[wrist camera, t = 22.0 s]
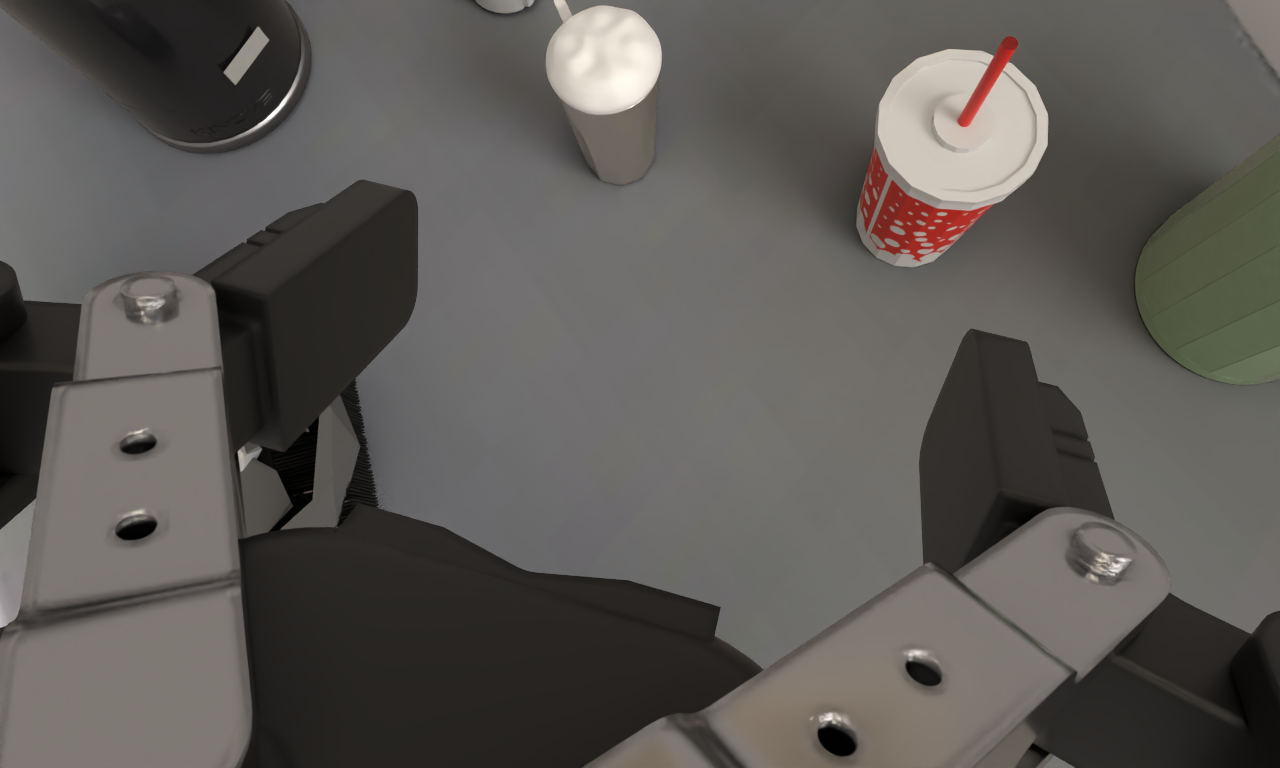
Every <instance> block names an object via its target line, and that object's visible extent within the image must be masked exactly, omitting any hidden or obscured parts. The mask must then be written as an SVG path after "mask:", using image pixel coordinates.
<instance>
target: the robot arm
mask: <svg viewBox="0 0 1280 768" xmlns="http://www.w3.org/2000/svg"><path fill="white" fill-rule="evenodd" d="M0 7H1V8H2V9H3V10H4V11H6V12H7V13H8V14H9V15H10V16H12V17H13V18H14V19H15V20H17V21H18V22H19V23H20V24H22V25H23V26H24V27H25V28H27V29H28V30H29V31H30V32H31V33H33V34H34V35H35V36H36V37H38V38H39V39H40V40H41V41H43V42H44V43H45V44H46V45H47V46H49V47H50V48H51V49H52V50H54V51H55V52H56V53H57V54H59V55H60V56H61V57H62V58H63V59H65V60H66V61H67V62H68V63H70V64H71V65H72V66H73V67H75V68H76V69H77V70H78V71H79V72H81V73H82V74H83V75H84V76H86V77H87V78H88V79H89V80H91V81H92V82H93V83H94V84H95V85H97V86H98V87H99V88H100V89H102V90H103V91H104V92H105V93H106V94H107V95H109V96H110V97H111V98H112V99H114V100H115V101H116V102H117V103H119V104H120V105H121V106H122V107H124V108H125V109H126V110H127V111H128V112H130V113H131V114H132V115H133V116H134V117H135V118H136V119H137V121H138V122H139V123H140V124H141V125H143V126H144V127H145V128H146V129H147V130H148V131H150V132H151V133H152V134H153V135H155V136H156V137H157V138H159V139H160V140H162V141H163V142H165V143H167V144H168V145H170V146H173V147H175V148H178V149H181V150H184V151H189V152H194V153H221V152H227V151H232V150H235V149H239V148H241V147H244V146H247V145H249V144H251V143H253V142H255V141H257V140H259V139H261V138H262V137H264V136H266V135H267V134H268V133H270V132H271V131H273V130H274V129H275V128H276V127H277V126H279V125H280V124H281V123H282V122H283V121H284V120H285V119H286V118H287V116H288V115H289V114H290V113H291V112H292V110H293V109H294V107H295V106H296V104H297V103H298V101H299V99H300V97H301V96H302V93H303V91H304V89H305V86H306V83H307V80H308V77H309V72H310V65H311V50H310V43H309V38H308V35H307V32H306V30H305V28H304V25H303V23H302V22H301V20H300V18H299V17H298V15H297V14H296V13H295V11H294V10H293V8H292V7H291V6H290V4H289V3H288V2H287V1H286V0H0ZM417 288H418V206H417V200H416V197H415V195H414V194H413V193H412V192H411V191H408V190H404V189H400V188H396V187H392V186H387V185H383V184H379V183H375V182H371V181H367V180H359V181H357V182H355V183H354V184H352V185H351V186H349V187H348V188H346V189H345V190H343V191H342V192H341V193H339V194H338V195H336V196H335V197H333V198H332V199H330V200H329V201H327V202H326V203H319V204H315V205H312V206H309V207H305V208H302V209H299V210H295V211H292V212H288V213H287V214H285V215H284V216H282V217H281V218H279V219H278V220H276V221H275V222H273V223H271V224H270V225H268V226H267V227H266V229H265V231H262V230H261V231H259V232H258V233H256V234H255V235H253V236H252V237H250V238H248V239H247V243H243V242H242V243H241V244H239V245H238V246H236V247H235V248H233V249H232V250H230V251H229V252H227V253H225V254H224V255H222V256H221V257H219V258H218V259H216V260H215V261H213V262H212V263H210V264H209V265H207V266H206V267H204V268H202V269H201V270H199V271H198V272H196V273H195V274H193V275H189V274H184V273H179V272H170V271H148V272H139V273H133V274H127V275H123V276H119V277H116V278H113V279H110V280H108V281H106V282H104V283H101V284H99V285H98V286H96V287H95V288H93V289H92V290H91V291H90V292H89V293H87V295H86V296H85V298H84V299H83V302H82V304H68V303H53V302H37V301H23V297H22V294H21V290H20V287H19V283H18V280H17V276H16V273H15V271H14V269H13V268H12V267H11V266H9V265H8V264H6V263H4V262H2V261H0V529H1V528H2V527H4V526H5V525H6V524H7V523H8V522H9V521H11V520H12V519H13V518H14V517H15V516H16V515H17V514H19V513H20V512H21V511H22V510H23V509H24V508H25V507H27V506H28V505H29V504H30V503H31V502H32V501H33V500H35V499H36V502H35V509H34V516H33V523H32V530H31V537H30V544H29V551H28V557H27V564H26V571H25V578H24V585H23V592H22V599H21V605H20V610H19V613H18V616H17V618H16V619H15V620H14V621H12V622H10V623H9V624H8V625H7V626H4V627H2V628H0V768H1043V767H1044V766H1045V765H1046V764H1047V763H1048V762H1049V761H1050V760H1051V759H1052V757H1053V756H1054V755H1055V756H1056V757H1058V758H1060V759H1061V760H1063V761H1065V762H1067V763H1068V764H1070V765H1072V766H1074V767H1075V768H1280V611H1277V612H1273V613H1271V614H1269V615H1267V616H1266V618H1265V619H1264V620H1263V621H1262V622H1261V623H1260V624H1259V626H1258V627H1257V628H1256V629H1255V631H1254V632H1253V633H1252V634H1250V633H1247V632H1245V631H1243V630H1241V629H1239V628H1237V627H1235V626H1233V625H1231V624H1229V623H1227V622H1225V621H1223V620H1220V619H1218V618H1216V617H1214V616H1212V615H1210V614H1208V613H1206V612H1204V611H1202V610H1200V609H1198V608H1196V607H1194V606H1192V605H1190V604H1188V603H1186V602H1184V601H1182V600H1180V599H1179V598H1177V597H1176V596H1174V595H1172V594H1171V593H1169V592H1170V589H1171V576H1170V573H1169V570H1168V568H1167V566H1166V564H1165V562H1164V560H1163V559H1162V558H1161V556H1160V555H1159V554H1158V552H1157V551H1156V550H1155V549H1154V548H1153V547H1152V546H1151V545H1150V544H1149V543H1148V542H1146V541H1145V540H1144V539H1143V538H1142V537H1141V536H1139V535H1138V534H1136V533H1135V532H1134V531H1132V530H1131V529H1129V528H1127V527H1126V526H1124V525H1122V524H1121V523H1119V522H1117V521H1115V519H1114V516H1113V513H1112V510H1111V507H1110V504H1109V500H1108V497H1107V494H1106V491H1105V488H1104V485H1103V481H1102V478H1101V475H1100V472H1099V469H1098V466H1097V463H1096V462H1094V458H1095V456H1094V453H1093V450H1092V447H1091V444H1090V442H1089V441H1087V439H1088V434H1087V431H1086V428H1085V425H1084V422H1083V418H1082V415H1081V412H1080V411H1079V410H1078V409H1077V408H1076V406H1075V405H1074V404H1073V403H1072V402H1071V401H1070V400H1069V399H1068V397H1067V396H1066V395H1065V394H1064V393H1063V392H1062V391H1061V390H1060V389H1059V387H1058V386H1054V385H1050V384H1046V383H1042V382H1038V378H1037V374H1036V371H1035V367H1034V363H1033V359H1032V355H1031V351H1030V347H1029V345H1028V343H1027V342H1025V341H1021V340H1017V339H1013V338H1008V337H1004V336H1000V335H996V334H992V333H988V332H984V331H980V330H975V329H970V330H969V331H968V332H967V333H966V335H965V336H964V338H963V340H962V342H961V344H960V346H959V349H958V351H957V353H956V356H955V358H954V361H953V363H952V365H951V368H950V370H949V373H948V375H947V377H946V380H945V382H944V385H943V387H942V389H941V392H940V394H939V397H938V399H937V401H936V404H935V406H934V409H933V411H932V413H931V416H930V418H929V421H928V423H927V426H926V429H925V433H924V436H923V440H922V445H921V450H920V459H919V471H920V495H921V519H922V543H923V565H922V566H921V567H919V568H917V569H916V570H914V571H913V572H911V573H910V574H908V575H907V576H905V577H904V578H902V579H901V580H899V581H898V582H896V583H895V584H893V585H892V586H890V587H889V588H887V589H886V590H884V591H883V592H881V593H880V594H878V595H877V596H875V597H874V598H872V599H871V600H869V601H868V602H866V603H865V604H863V605H862V606H860V607H859V608H857V609H855V610H854V611H852V612H851V613H849V614H848V615H846V616H845V617H843V618H842V619H840V620H839V621H837V622H836V623H834V624H833V625H831V626H830V627H828V628H827V629H825V630H824V631H822V632H821V633H819V634H818V635H816V636H815V637H813V638H812V639H810V640H809V641H807V642H806V643H804V644H803V645H801V646H800V647H798V648H797V649H795V650H794V651H792V652H790V653H789V654H787V655H786V656H784V657H783V658H781V659H780V660H778V661H777V662H775V663H774V664H772V665H771V666H769V667H768V668H766V669H765V670H763V669H762V668H761V667H760V666H759V665H757V664H756V663H755V662H754V661H753V660H751V659H750V658H749V657H747V656H746V655H744V654H743V653H741V652H740V651H738V650H737V649H736V648H734V647H733V646H731V645H730V644H728V643H726V642H724V641H723V640H721V639H719V638H717V637H715V636H714V635H715V630H716V626H717V621H718V617H719V612H720V607H718V606H715V605H712V604H708V603H705V602H701V601H698V600H694V599H691V598H687V597H684V596H680V595H677V594H673V593H670V592H666V591H663V590H659V589H656V588H652V587H649V586H646V585H642V584H639V583H635V582H632V581H628V580H616V579H604V578H593V577H581V576H569V575H557V574H546V573H535V572H529V571H526V570H523V569H520V568H518V567H516V566H514V565H512V564H511V563H509V562H507V561H505V560H503V559H501V558H500V557H498V556H496V555H494V554H492V553H490V552H488V551H487V550H485V549H483V548H481V547H479V546H477V545H475V544H474V543H472V542H470V541H468V540H466V539H464V538H462V537H461V536H459V535H457V534H455V533H453V532H451V531H450V530H448V529H446V528H444V527H441V526H437V525H434V524H430V523H427V522H423V521H420V520H416V519H413V518H409V517H406V516H402V515H399V514H395V513H392V512H388V511H385V510H381V509H378V508H375V507H371V506H368V505H364V504H361V503H358V504H357V505H356V506H355V508H354V509H353V510H352V511H351V513H350V514H349V515H348V517H347V518H346V519H345V520H344V522H343V523H342V524H341V525H340V527H339V528H337V527H303V528H293V529H283V530H278V531H272V532H267V533H261V534H257V535H254V536H250V537H248V535H247V526H246V517H245V507H244V498H243V489H242V480H241V471H240V464H239V457H238V451H239V450H240V449H241V448H242V447H243V446H244V445H245V444H246V443H247V442H249V443H252V444H256V445H259V446H263V447H267V448H270V449H274V450H277V451H281V452H285V451H286V450H287V449H288V448H289V447H290V446H291V445H292V444H293V443H294V442H295V441H296V440H297V438H298V437H299V436H300V435H301V434H302V433H303V432H304V431H305V430H306V429H307V428H308V427H309V426H310V425H311V424H312V423H313V422H314V421H315V420H316V419H317V418H318V417H319V416H320V414H321V413H322V412H323V411H324V410H325V409H326V408H327V407H328V406H329V405H330V404H331V403H332V402H333V401H334V400H335V399H336V398H337V397H338V396H339V395H340V394H341V393H342V392H343V391H344V389H345V388H346V387H347V386H348V385H349V384H350V383H351V382H352V381H353V380H354V379H355V378H356V377H357V376H358V375H359V374H360V373H361V372H362V371H363V370H364V369H365V368H366V367H367V365H368V364H369V363H370V362H371V361H372V360H373V359H374V358H375V357H376V356H377V355H378V354H379V353H380V352H381V351H382V350H383V349H384V348H385V347H386V346H387V345H388V344H389V343H390V342H391V340H392V339H393V338H394V337H395V336H396V335H397V334H398V333H399V332H400V331H401V330H402V329H403V328H404V327H405V325H406V324H407V322H408V321H409V319H410V317H411V314H412V312H413V309H414V306H415V302H416V297H417Z"/></svg>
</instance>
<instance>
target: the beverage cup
mask: <svg viewBox="0 0 1280 768" xmlns="http://www.w3.org/2000/svg"><path fill="white" fill-rule="evenodd" d="M1017 46H1018V41H1017V40H1016V39H1015V38H1014V37H1006V38H1005V39H1003V41H1002V43H1001V45H1000V46H999V48H998V50H997V52H996V53H995V55H994V56H992V55H990V54H988V53H985V52H983V51H974V50H956V49H947V50H944V51H941V52H937V53H934V54H931V55H927V56H924V57H921V58H918V59H916V60H915V61H914V62H913V63H911V64H910V65H909V66H908V67H906V68H905V69H904V70H903V71H901V72H900V73H899V74H898V75H896V76H895V77H894V78H893V80H892V81H891V83H890V85H889V87H888V89H887V91H886V93H885V95H884V96H883V98H882V100H881V102H880V104H879V106H878V112H877V114H876V123H875V141H874V149H873V152H872V156H871V159H870V163H869V167H868V170H867V174H866V178H865V181H864V185H863V188H862V192H861V196H860V199H859V203H858V206H857V219H856V227H857V230H858V232H859V235H860V238H861V240H862V243H863V244H864V245H865V246H866V247H867V248H868V249H869V251H870V252H871V253H872V254H873V255H874V256H875V257H876V258H878V259H881V260H883V261H885V262H887V263H889V264H891V265H893V266H903V267H917V266H920V265H923V264H927V263H930V262H933V261H934V260H935V259H937V258H938V257H939V256H940V255H941V254H943V253H944V252H945V251H946V250H947V249H948V248H949V247H951V246H952V245H953V244H954V243H955V242H956V241H957V240H958V239H959V238H960V237H961V236H962V235H963V234H964V233H965V232H966V231H967V230H968V229H969V228H970V227H971V226H972V225H973V224H974V223H975V222H976V221H977V220H978V219H979V218H980V217H981V216H982V215H983V214H984V213H985V212H986V211H987V210H988V209H989V208H990V207H991V206H992V205H993V204H994V203H998V202H1001V201H1002V200H1004V199H1005V198H1006V197H1007V196H1008V195H1010V194H1011V193H1012V192H1013V191H1015V190H1016V189H1017V188H1018V187H1019V186H1021V185H1022V184H1023V183H1024V182H1025V181H1026V180H1027V179H1028V178H1029V177H1031V176H1032V174H1033V173H1034V172H1035V170H1036V168H1037V166H1038V164H1039V161H1040V159H1041V157H1042V155H1043V153H1044V151H1045V149H1046V147H1047V145H1048V113H1047V111H1046V109H1045V106H1044V104H1043V102H1042V100H1041V97H1040V95H1039V93H1038V91H1037V88H1036V86H1035V85H1034V84H1033V83H1032V82H1031V81H1030V80H1029V79H1028V78H1026V77H1025V76H1024V75H1023V74H1022V73H1021V72H1020V71H1019V70H1018V69H1017V68H1016V67H1015V66H1014V65H1013V64H1011V63H1009V62H1008V61H1009V59H1010V58H1011V56H1012V54H1013V53H1014V51H1015V49H1016V48H1017Z"/></svg>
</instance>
